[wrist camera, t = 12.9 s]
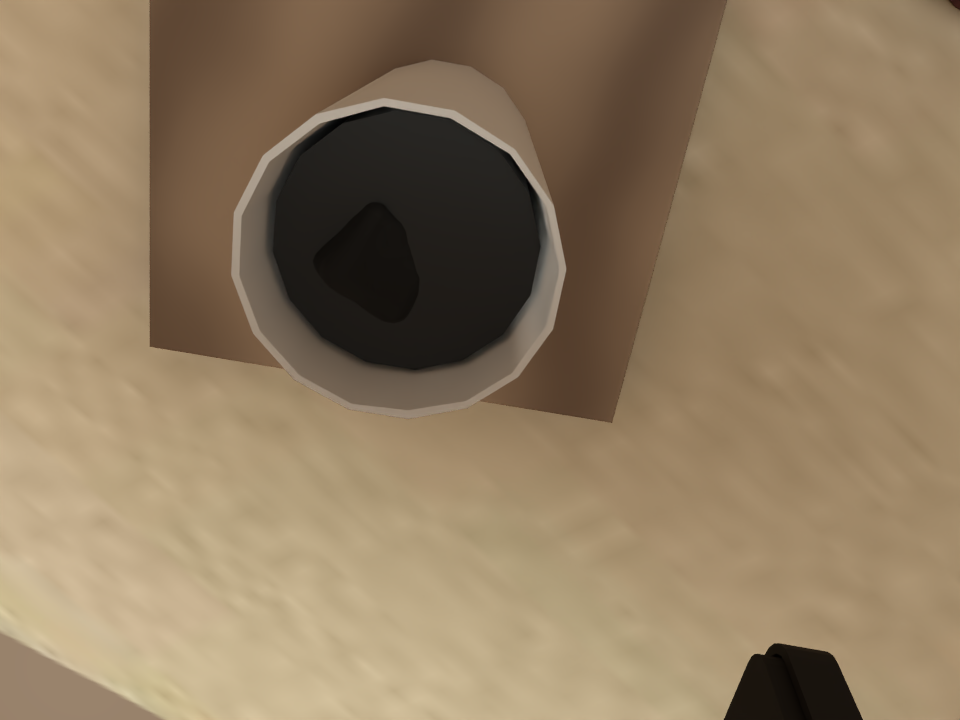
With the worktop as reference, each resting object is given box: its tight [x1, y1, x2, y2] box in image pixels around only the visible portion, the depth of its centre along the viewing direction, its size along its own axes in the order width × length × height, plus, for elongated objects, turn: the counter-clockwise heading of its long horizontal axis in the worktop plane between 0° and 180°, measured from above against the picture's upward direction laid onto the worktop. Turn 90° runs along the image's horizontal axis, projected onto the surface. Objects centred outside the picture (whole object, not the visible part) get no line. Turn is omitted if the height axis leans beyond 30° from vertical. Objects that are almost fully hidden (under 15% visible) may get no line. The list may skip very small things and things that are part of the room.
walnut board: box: [150, 0, 727, 423], centre depth 27 cm, size 16×16×2 cm
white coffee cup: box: [231, 60, 566, 419], centre depth 21 cm, size 7×7×10 cm
